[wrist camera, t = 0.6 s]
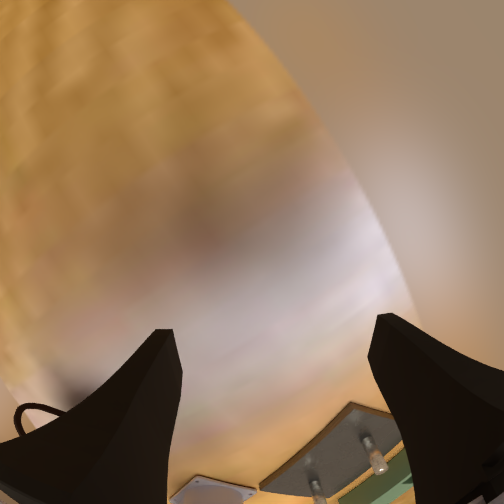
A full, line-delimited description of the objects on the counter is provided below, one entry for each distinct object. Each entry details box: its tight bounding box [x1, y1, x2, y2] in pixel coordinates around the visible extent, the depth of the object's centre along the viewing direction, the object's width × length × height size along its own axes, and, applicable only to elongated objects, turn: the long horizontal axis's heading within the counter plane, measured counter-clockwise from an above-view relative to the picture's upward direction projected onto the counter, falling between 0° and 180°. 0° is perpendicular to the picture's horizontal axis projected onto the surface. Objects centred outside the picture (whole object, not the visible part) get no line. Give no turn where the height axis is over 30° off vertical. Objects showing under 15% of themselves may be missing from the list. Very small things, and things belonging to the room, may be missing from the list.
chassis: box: [259, 402, 402, 504], centre depth 23 cm, size 16×11×6 cm
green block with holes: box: [338, 448, 414, 504], centre depth 27 cm, size 14×5×4 cm, turn 149°
